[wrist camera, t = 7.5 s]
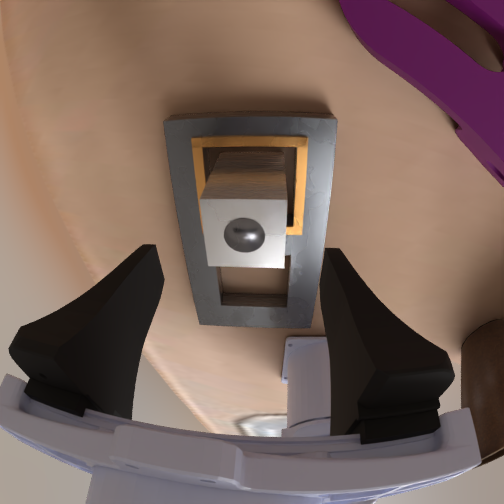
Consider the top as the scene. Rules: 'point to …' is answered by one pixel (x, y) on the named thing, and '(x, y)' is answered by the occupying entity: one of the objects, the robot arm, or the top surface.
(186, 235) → the grey holder tray
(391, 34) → the mounting bracket
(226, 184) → the metal block with hole
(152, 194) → the top surface
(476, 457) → the robot arm
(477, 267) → the top surface
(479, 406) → the plant pot
